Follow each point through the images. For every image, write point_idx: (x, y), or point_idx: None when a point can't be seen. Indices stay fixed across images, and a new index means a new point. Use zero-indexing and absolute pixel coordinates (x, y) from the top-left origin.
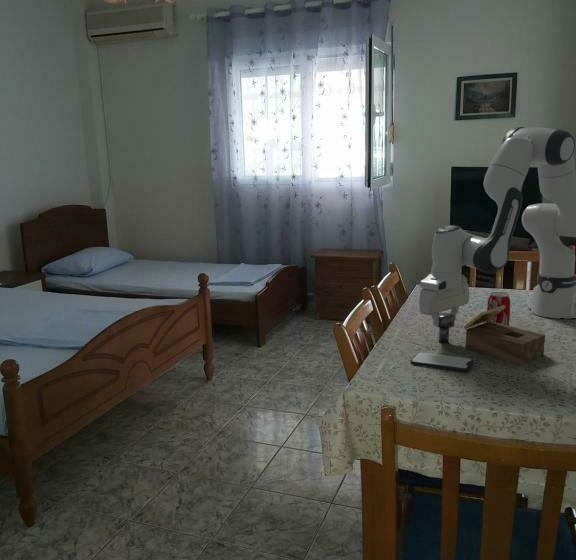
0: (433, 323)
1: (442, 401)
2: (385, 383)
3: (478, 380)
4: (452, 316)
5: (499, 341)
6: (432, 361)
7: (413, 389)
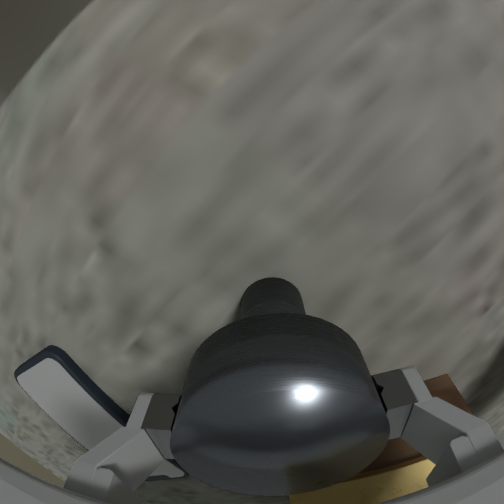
0: (138, 402)
1: (44, 465)
2: None
3: None
4: (319, 482)
5: None
6: (66, 421)
7: (9, 427)
